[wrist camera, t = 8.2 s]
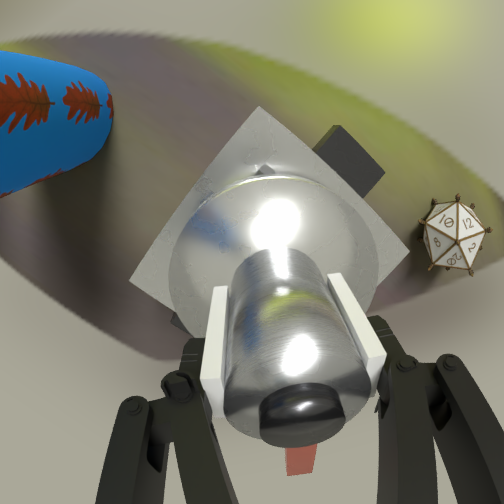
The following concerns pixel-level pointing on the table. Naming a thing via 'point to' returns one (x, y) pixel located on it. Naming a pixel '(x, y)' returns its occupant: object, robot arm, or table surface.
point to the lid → (280, 306)
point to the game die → (453, 235)
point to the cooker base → (275, 162)
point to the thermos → (48, 119)
